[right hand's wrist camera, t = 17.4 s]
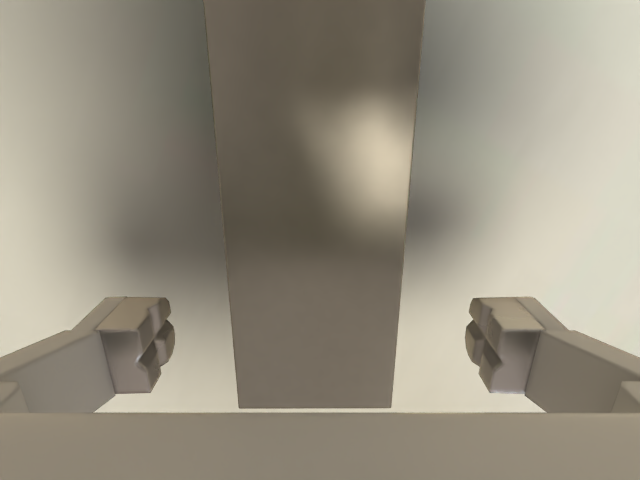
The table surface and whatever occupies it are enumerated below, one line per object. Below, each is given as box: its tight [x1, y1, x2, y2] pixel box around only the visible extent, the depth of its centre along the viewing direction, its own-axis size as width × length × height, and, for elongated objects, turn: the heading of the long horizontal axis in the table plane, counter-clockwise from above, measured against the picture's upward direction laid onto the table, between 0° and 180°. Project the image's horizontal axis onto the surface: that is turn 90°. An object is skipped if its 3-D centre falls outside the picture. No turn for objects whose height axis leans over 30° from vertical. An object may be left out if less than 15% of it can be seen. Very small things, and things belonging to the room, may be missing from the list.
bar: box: [203, 0, 426, 408], centre depth 13 cm, size 26×5×9 cm, turn 0°
